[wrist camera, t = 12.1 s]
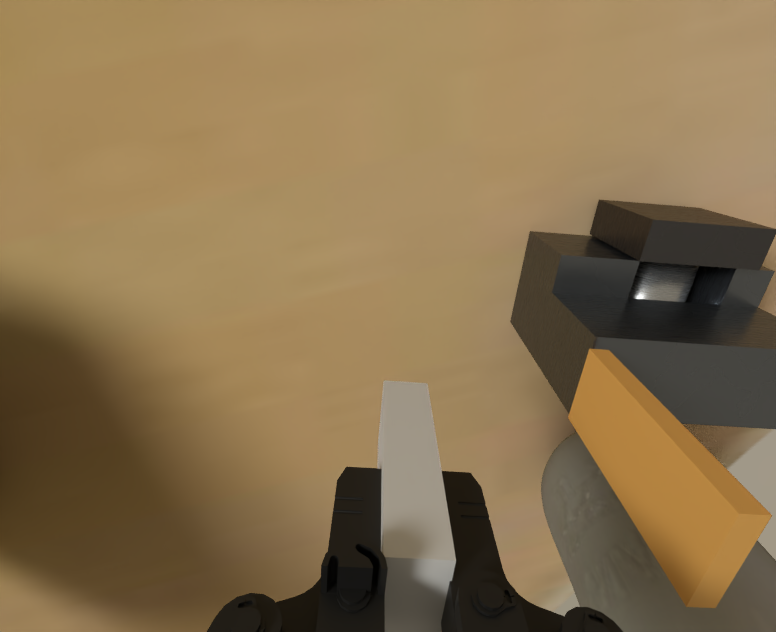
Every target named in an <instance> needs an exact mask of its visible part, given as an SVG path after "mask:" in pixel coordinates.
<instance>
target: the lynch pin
mask: <svg viewBox="0 0 776 632" xmlns="http://www.w3.org/2000/svg"><path fill="white" fill-rule="evenodd" d="M590 234H591V235H593V236H594V237H596V238H598V239H600V240H602V241H604V242H605V243H607V244H609V245H611V246H613V247H615V248H616V249H618V250H620V251H622V252H624V253H626V254H627V255H629V256H631V257H633V258H635V259H636V260H638V261H640V263H639V266H638V269H637V272H636V275H635V278H634V281H633V284H632V287H631V290H630V293H629V296H628V298H633V299H647V300H660V301H674V302H686V299H687V297H688V294H689V292H690V289H691V286H692V284H693V281H694V279H695V276H696V274H697V271H698V268H699V266H709V267H722V268H735V269H748V270H760V268H761V266H762V264H763V261H764V259H765V257H766V255H767V253H768V250H769V248H770V246H771V244H772V241H773V239H774V237H775V235H776V229H774V228H770V227H766V226H763V225H759V224H756V223H752V222H748V221H745V220H741V219H737V218H734V217H730V216H727V215H723V214H719V213H716V212H712V211H709V210H705V209H701V208H693V207H681V206H669V205H657V204H645V203H633V202H621V201H609V200H599V202H598V206H597V209H596V213H595V217H594V220H593V224H592V228H591V231H590Z"/></svg>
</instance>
